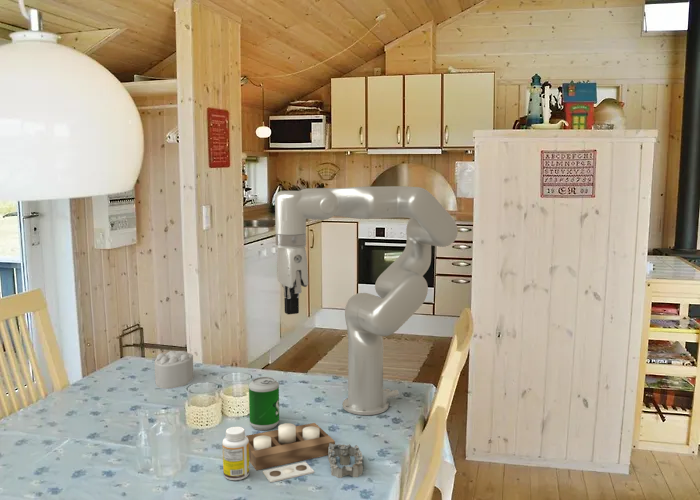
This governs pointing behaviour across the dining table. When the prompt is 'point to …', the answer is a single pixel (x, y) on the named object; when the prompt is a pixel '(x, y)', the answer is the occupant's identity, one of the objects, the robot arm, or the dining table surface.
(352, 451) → the grey toy castle
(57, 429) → the dining table surface
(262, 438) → the cream rounded cylinder
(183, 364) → the lumpy-topped squat cylinder
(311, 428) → the button
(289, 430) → the button middle
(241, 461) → the supplement bottle
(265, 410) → the soda can
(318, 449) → the wooden compartment box
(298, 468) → the card
